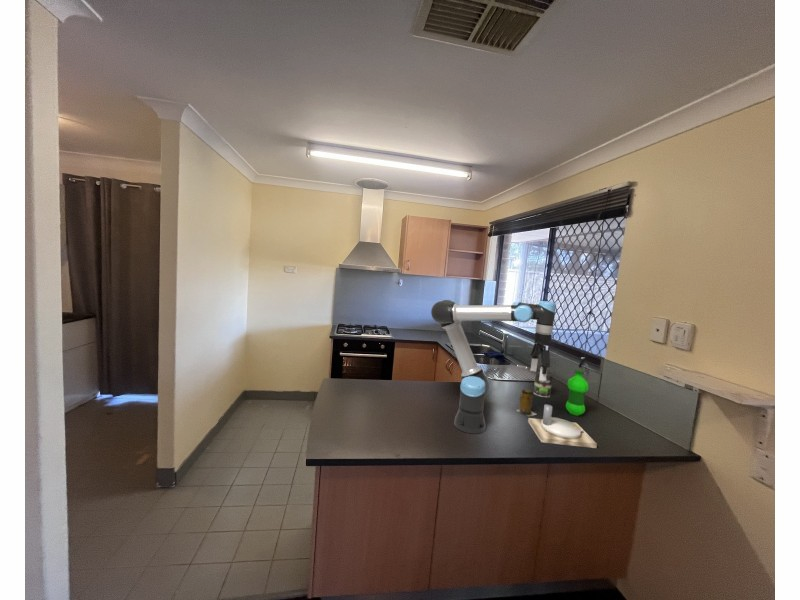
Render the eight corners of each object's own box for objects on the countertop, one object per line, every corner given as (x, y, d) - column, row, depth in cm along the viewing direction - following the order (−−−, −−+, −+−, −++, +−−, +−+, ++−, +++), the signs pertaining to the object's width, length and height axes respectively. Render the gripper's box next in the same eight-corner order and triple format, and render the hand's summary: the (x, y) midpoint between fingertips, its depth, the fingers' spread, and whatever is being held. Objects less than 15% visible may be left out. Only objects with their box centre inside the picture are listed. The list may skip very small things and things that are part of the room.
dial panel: (541, 442, 143) (542, 437, 143) (528, 421, 163) (528, 417, 162) (596, 448, 141) (597, 443, 140) (576, 426, 160) (576, 422, 160)
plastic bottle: (564, 414, 174) (569, 371, 171) (564, 407, 183) (569, 366, 181) (585, 419, 169) (590, 374, 167) (584, 412, 178) (589, 369, 176)
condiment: (524, 408, 179) (526, 388, 178) (537, 414, 172) (539, 393, 171) (515, 410, 176) (517, 389, 175) (528, 417, 168) (530, 395, 167)
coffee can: (551, 398, 196) (554, 376, 195) (534, 395, 199) (536, 374, 198) (549, 392, 206) (551, 372, 205) (532, 390, 209) (534, 369, 208)
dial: (586, 441, 142) (589, 417, 141) (547, 435, 144) (549, 413, 143) (572, 423, 158) (574, 402, 157) (537, 419, 161) (539, 398, 160)
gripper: (562, 339, 138) (555, 385, 140) (542, 329, 163) (537, 368, 165) (544, 337, 139) (538, 383, 141) (527, 327, 164) (522, 366, 166)
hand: (537, 375), depth 153 cm, fingers open, 13 cm apart
